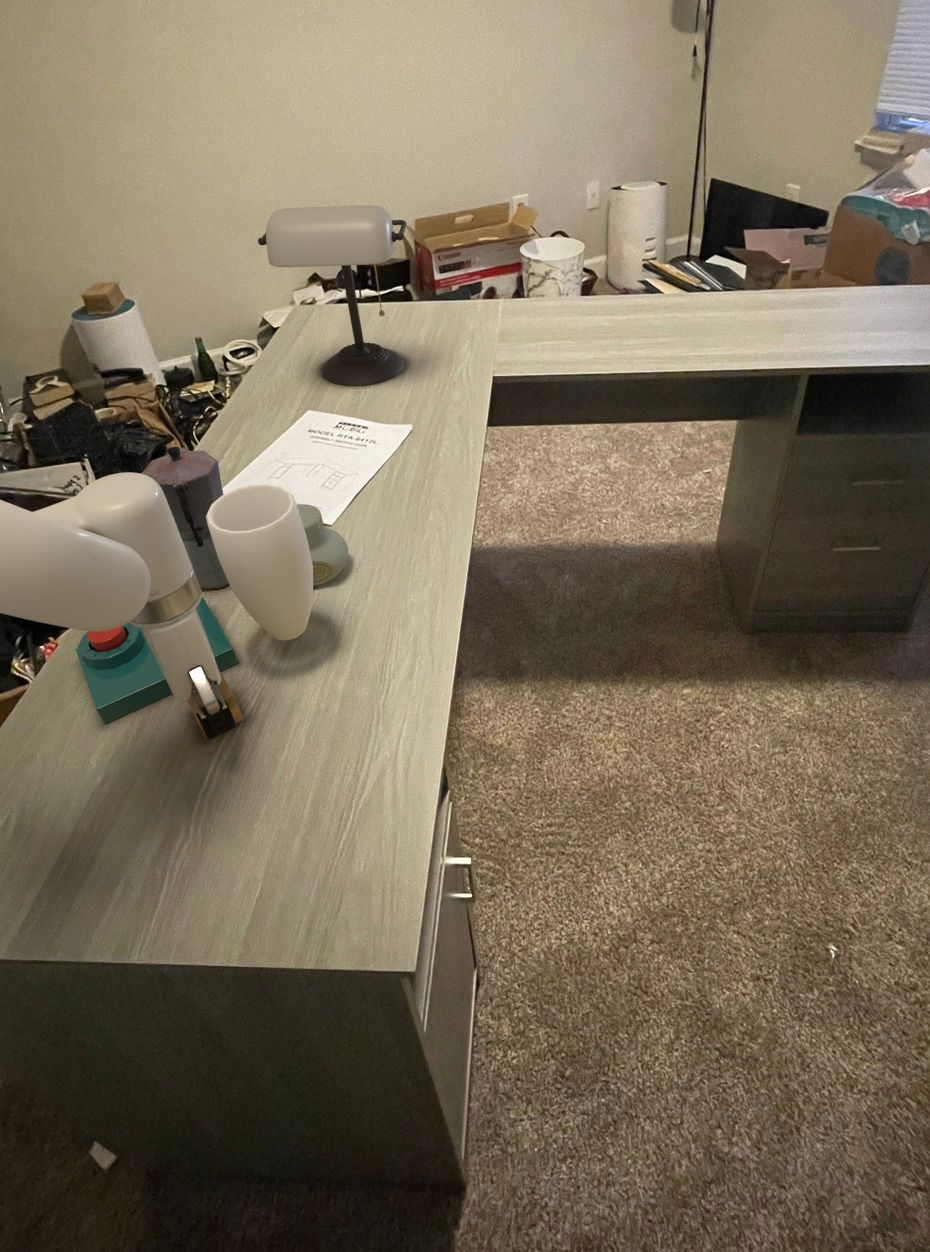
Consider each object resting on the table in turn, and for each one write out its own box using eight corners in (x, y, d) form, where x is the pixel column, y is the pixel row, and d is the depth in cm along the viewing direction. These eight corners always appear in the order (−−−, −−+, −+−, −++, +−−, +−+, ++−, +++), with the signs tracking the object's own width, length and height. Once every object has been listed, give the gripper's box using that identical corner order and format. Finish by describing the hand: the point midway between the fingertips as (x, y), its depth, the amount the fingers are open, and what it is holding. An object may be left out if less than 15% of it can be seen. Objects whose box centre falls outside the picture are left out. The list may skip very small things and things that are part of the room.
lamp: (286, 402, 146) (241, 221, 125) (310, 351, 165) (274, 186, 143) (418, 398, 146) (396, 216, 124) (427, 347, 165) (409, 181, 143)
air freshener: (350, 548, 110) (338, 493, 103) (352, 584, 103) (340, 527, 97) (275, 559, 108) (258, 504, 102) (273, 596, 102) (255, 539, 96)
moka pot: (241, 534, 113) (203, 418, 100) (262, 593, 103) (221, 472, 90) (177, 552, 110) (128, 435, 97) (191, 615, 99) (138, 493, 87)
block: (205, 739, 84) (193, 714, 81) (193, 713, 86) (181, 688, 84) (243, 720, 86) (233, 695, 83) (231, 696, 88) (220, 671, 85)
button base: (105, 724, 86) (89, 699, 83) (83, 661, 94) (68, 636, 91) (238, 663, 92) (228, 638, 90) (207, 609, 100) (197, 584, 97)
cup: (250, 680, 90) (197, 543, 76) (254, 623, 98) (206, 488, 84) (336, 665, 92) (298, 527, 78) (332, 609, 100) (298, 475, 86)
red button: (96, 657, 88) (90, 647, 87) (89, 638, 91) (83, 628, 90) (130, 643, 90) (125, 633, 89) (123, 625, 93) (117, 615, 91)
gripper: (99, 562, 77) (154, 673, 88) (142, 659, 66) (198, 772, 77) (172, 536, 80) (216, 646, 91) (224, 624, 69) (267, 738, 80)
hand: (208, 704), depth 84 cm, fingers open, 9 cm apart
